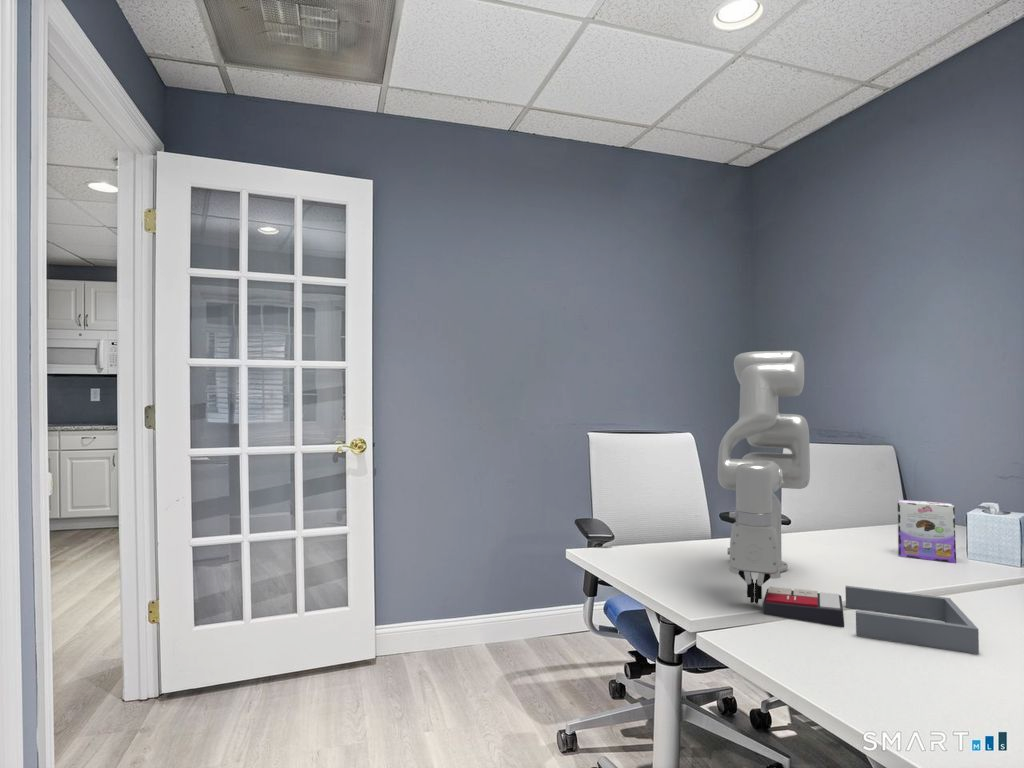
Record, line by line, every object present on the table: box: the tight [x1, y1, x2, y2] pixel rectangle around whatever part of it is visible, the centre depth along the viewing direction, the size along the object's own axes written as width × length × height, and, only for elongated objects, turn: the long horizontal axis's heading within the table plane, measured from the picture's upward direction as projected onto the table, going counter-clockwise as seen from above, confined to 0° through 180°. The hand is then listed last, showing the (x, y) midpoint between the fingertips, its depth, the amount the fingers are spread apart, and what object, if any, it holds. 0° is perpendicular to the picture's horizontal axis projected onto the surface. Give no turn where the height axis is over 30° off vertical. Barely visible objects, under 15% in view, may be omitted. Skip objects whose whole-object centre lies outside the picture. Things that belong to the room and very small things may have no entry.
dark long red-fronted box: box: [763, 586, 845, 628], centre depth 125 cm, size 11×4×15 cm
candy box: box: [896, 499, 957, 564], centre depth 170 cm, size 14×6×16 cm, turn 58°
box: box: [844, 585, 980, 655], centre depth 117 cm, size 19×18×4 cm
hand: (754, 601), depth 128 cm, fingers closed
